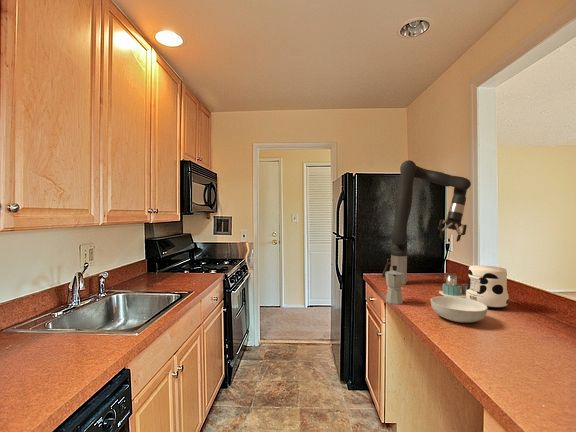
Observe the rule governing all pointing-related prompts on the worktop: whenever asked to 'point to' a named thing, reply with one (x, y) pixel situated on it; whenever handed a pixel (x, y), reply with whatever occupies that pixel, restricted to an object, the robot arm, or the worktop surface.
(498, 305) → the milk container
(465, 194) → the robot arm
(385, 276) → the door stopper
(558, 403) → the worktop surface
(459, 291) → the fitting plate
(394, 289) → the coffee maker
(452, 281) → the salt shaker
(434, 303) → the serving bowl
